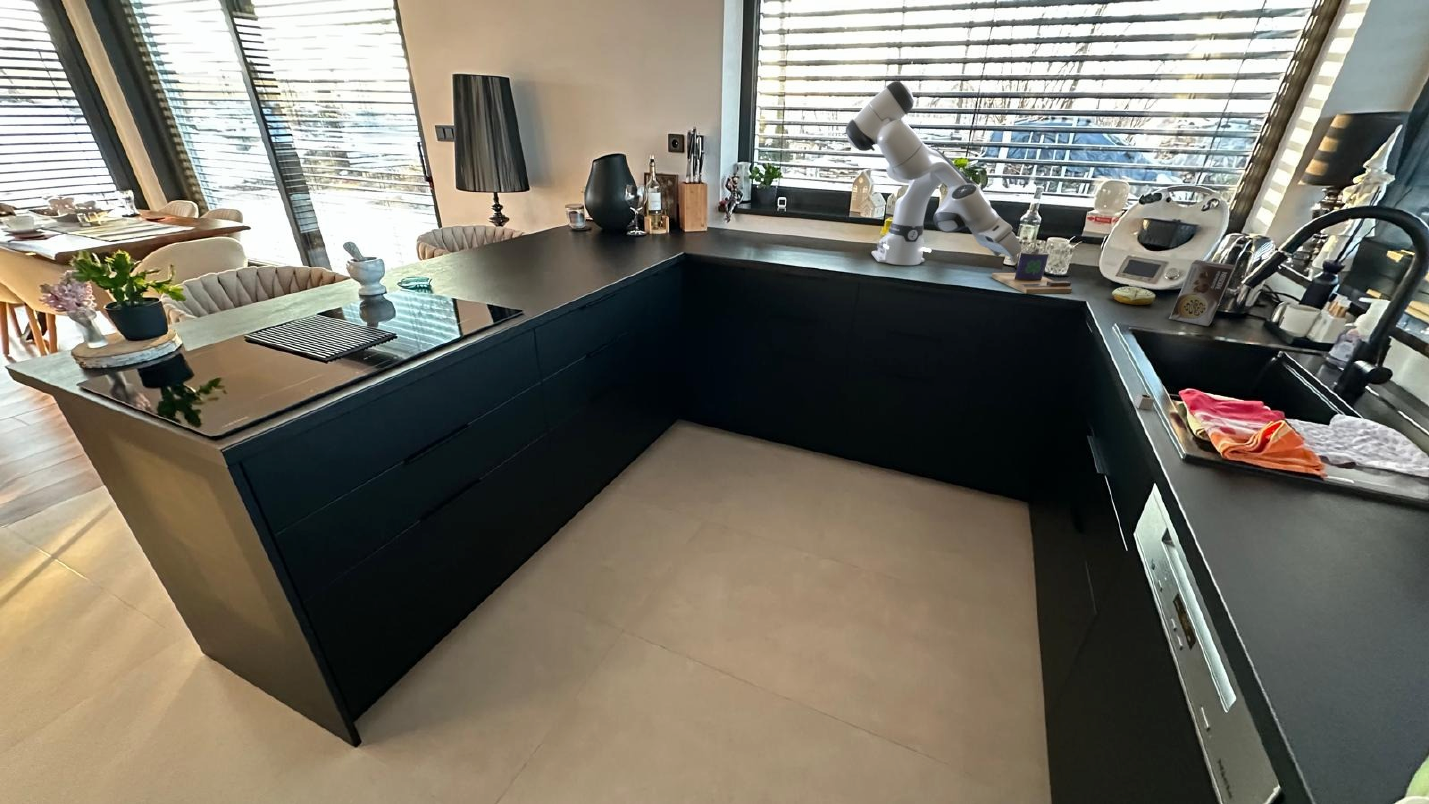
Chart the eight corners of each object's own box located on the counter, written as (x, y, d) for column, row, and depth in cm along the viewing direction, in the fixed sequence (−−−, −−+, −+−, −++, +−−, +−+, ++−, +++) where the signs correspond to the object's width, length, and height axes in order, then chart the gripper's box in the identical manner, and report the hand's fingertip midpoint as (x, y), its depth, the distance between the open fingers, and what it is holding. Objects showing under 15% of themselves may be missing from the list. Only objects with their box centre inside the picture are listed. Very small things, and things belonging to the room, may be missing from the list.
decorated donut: (1102, 297, 177) (1107, 286, 175) (1128, 295, 179) (1132, 284, 178) (1133, 307, 168) (1137, 295, 166) (1159, 305, 170) (1164, 293, 169)
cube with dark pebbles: (1138, 408, 109) (1143, 396, 107) (1133, 403, 110) (1138, 392, 109) (1150, 409, 108) (1155, 398, 107) (1145, 404, 110) (1150, 393, 109)
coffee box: (1211, 322, 157) (1237, 265, 150) (1208, 327, 153) (1234, 268, 146) (1172, 314, 163) (1195, 258, 155) (1168, 318, 159) (1191, 262, 151)
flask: (1039, 278, 190) (1048, 247, 185) (1043, 281, 188) (1053, 248, 183) (1012, 278, 190) (1021, 246, 185) (1016, 280, 187) (1025, 248, 182)
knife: (1020, 285, 182) (1022, 281, 182) (1065, 284, 184) (1066, 280, 184) (1025, 286, 180) (1026, 283, 180) (1070, 286, 182) (1071, 282, 182)
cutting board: (990, 277, 196) (991, 273, 196) (1032, 276, 198) (1033, 272, 198) (1025, 293, 179) (1026, 289, 178) (1070, 292, 181) (1072, 288, 180)
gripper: (961, 228, 189) (981, 257, 194) (996, 240, 171) (1017, 272, 176) (977, 214, 187) (996, 244, 193) (1014, 225, 169) (1034, 258, 175)
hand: (1006, 257), depth 185 cm, fingers open, 8 cm apart
